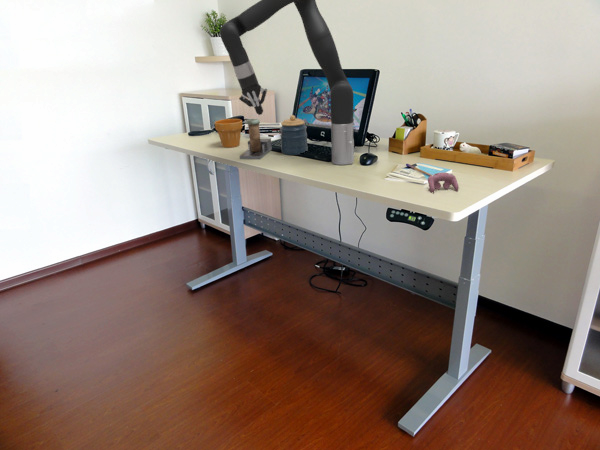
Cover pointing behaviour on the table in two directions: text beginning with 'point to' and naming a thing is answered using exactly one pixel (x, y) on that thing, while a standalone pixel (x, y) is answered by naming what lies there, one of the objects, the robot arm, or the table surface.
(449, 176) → the video game controller
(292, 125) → the canister
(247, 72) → the robot arm
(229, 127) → the flower pot
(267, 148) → the mount
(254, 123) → the brown capped cylinder
